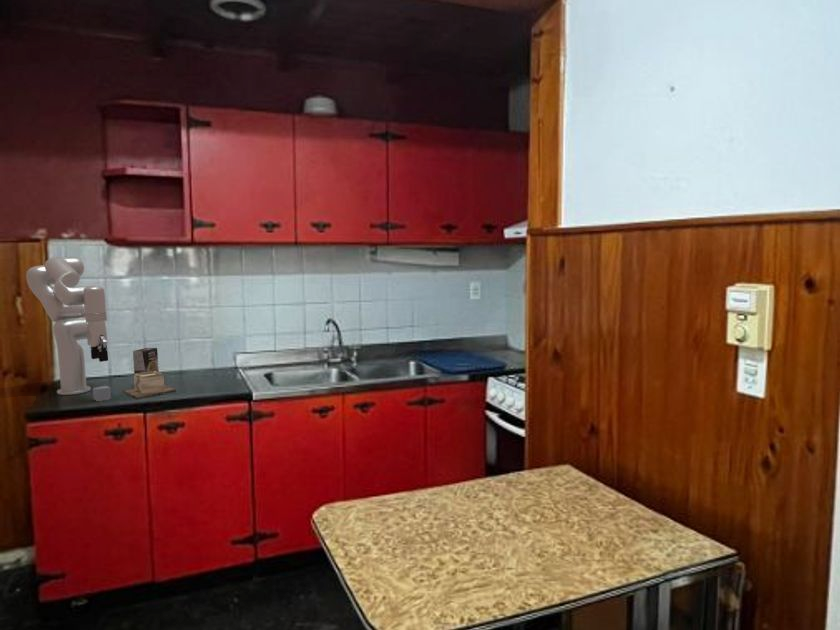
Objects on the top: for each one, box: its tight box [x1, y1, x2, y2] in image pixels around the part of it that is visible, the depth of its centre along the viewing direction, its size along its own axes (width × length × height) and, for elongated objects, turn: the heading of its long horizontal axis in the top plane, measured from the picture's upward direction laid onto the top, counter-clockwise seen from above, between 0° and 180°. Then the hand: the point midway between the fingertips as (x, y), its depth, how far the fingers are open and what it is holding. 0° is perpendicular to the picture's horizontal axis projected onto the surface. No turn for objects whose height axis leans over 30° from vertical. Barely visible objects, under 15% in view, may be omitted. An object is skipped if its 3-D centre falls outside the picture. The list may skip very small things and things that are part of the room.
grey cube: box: [92, 385, 112, 402], centre depth 245 cm, size 5×5×5 cm
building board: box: [122, 371, 177, 399], centre depth 256 cm, size 16×16×8 cm
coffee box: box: [132, 347, 160, 375], centre depth 270 cm, size 9×6×16 cm
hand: (99, 359), depth 243 cm, fingers open, 9 cm apart
